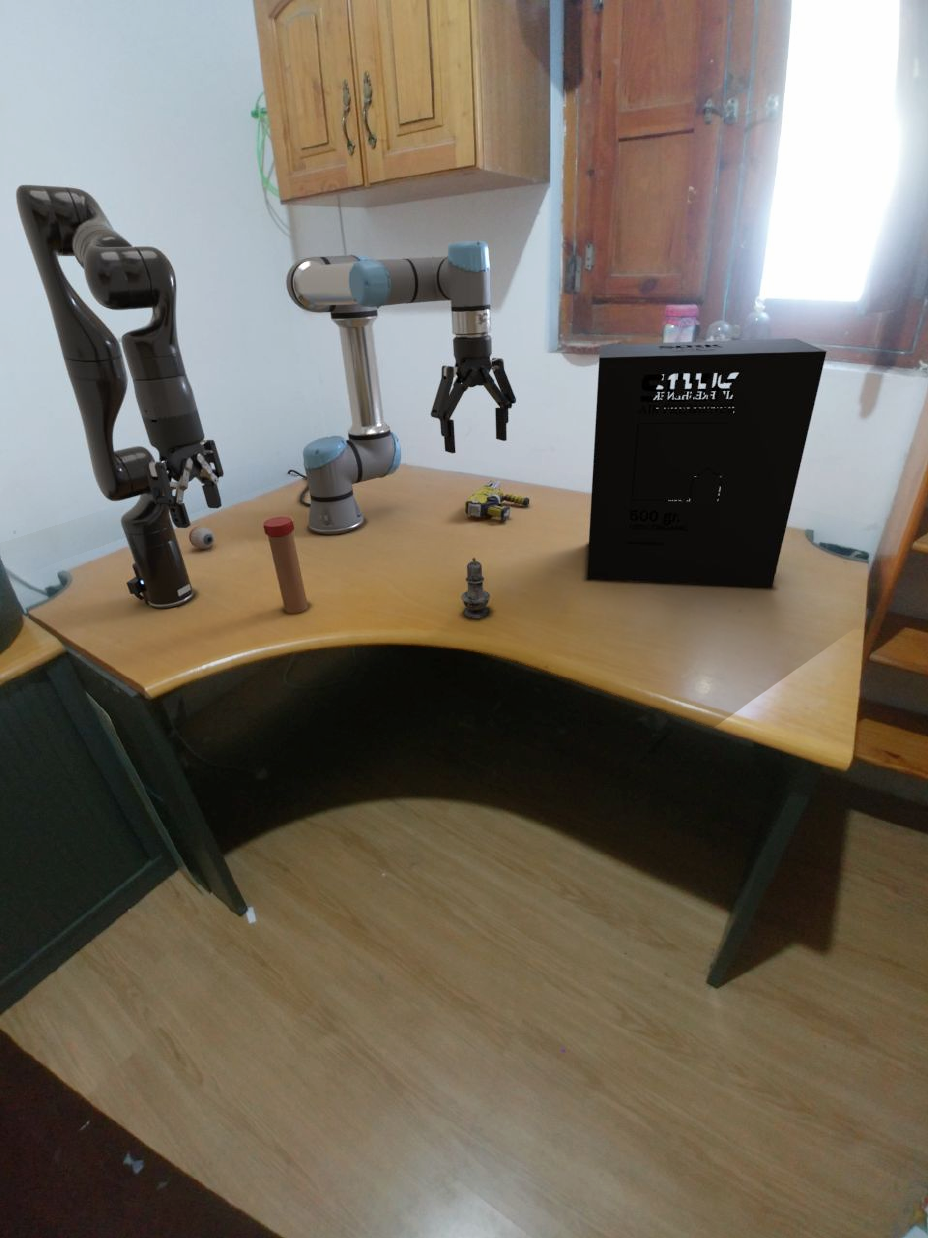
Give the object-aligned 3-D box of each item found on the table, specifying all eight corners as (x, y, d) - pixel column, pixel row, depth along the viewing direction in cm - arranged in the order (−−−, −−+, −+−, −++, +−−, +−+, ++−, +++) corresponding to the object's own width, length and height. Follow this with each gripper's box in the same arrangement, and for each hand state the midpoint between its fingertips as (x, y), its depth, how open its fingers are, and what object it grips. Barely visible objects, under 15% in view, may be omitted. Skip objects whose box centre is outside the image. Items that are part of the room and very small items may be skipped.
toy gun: (537, 485, 181) (489, 478, 185) (516, 509, 160) (463, 500, 164) (535, 500, 183) (488, 493, 187) (515, 526, 163) (463, 517, 167)
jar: (289, 615, 125) (270, 529, 116) (281, 607, 129) (262, 523, 119) (311, 608, 127) (294, 523, 118) (302, 600, 131) (285, 517, 121)
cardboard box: (752, 548, 142) (795, 338, 119) (772, 587, 124) (826, 351, 102) (589, 543, 149) (600, 344, 127) (586, 579, 132) (599, 357, 110)
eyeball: (203, 554, 156) (196, 532, 153) (187, 550, 159) (181, 528, 156) (222, 546, 160) (216, 524, 157) (206, 542, 163) (200, 521, 160)
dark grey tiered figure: (488, 619, 119) (486, 564, 113) (459, 618, 120) (455, 563, 114) (493, 605, 124) (491, 551, 118) (465, 604, 125) (462, 550, 119)
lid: (270, 539, 116) (268, 528, 115) (260, 530, 120) (258, 521, 119) (298, 531, 119) (296, 521, 118) (288, 523, 123) (285, 514, 122)
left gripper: (176, 400, 93) (204, 501, 101) (111, 420, 81) (149, 533, 89) (220, 399, 92) (244, 502, 100) (160, 420, 80) (194, 535, 88)
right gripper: (429, 342, 108) (437, 460, 118) (533, 329, 120) (532, 437, 131) (407, 340, 113) (417, 454, 124) (508, 328, 125) (510, 432, 136)
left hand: (199, 516), depth 95 cm, fingers open, 8 cm apart
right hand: (476, 445), depth 127 cm, fingers open, 13 cm apart
